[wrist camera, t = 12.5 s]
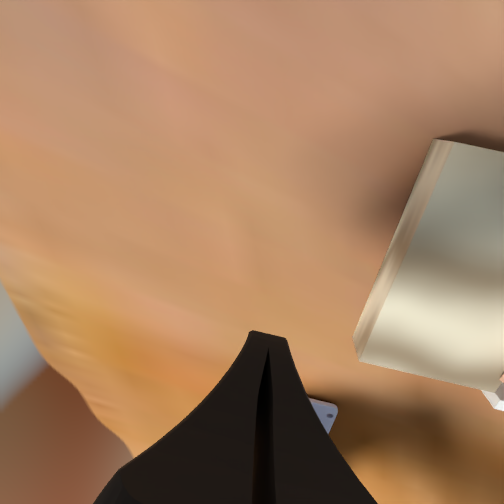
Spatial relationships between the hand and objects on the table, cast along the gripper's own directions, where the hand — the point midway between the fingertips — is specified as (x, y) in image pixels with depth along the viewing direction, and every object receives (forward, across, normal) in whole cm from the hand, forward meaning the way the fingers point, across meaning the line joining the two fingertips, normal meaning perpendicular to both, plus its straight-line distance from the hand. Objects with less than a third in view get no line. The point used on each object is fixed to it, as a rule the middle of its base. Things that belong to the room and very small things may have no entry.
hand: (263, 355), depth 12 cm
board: (+10, -12, -2) cm, 16 cm away
